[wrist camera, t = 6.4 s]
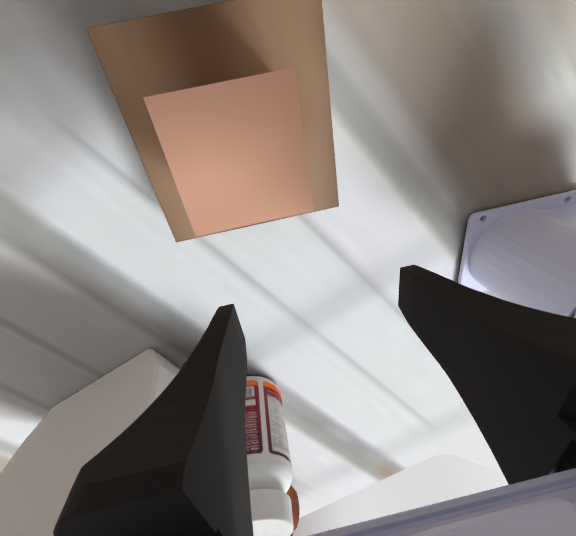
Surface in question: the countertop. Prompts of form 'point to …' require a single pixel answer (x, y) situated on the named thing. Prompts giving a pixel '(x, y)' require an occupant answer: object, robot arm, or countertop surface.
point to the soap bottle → (75, 442)
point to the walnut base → (220, 78)
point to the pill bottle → (267, 459)
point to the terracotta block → (235, 150)
